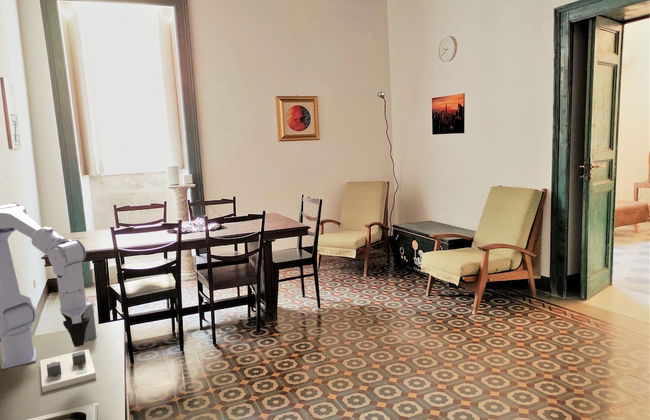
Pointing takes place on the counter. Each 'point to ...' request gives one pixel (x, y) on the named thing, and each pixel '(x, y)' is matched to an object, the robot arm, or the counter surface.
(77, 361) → the block
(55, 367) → the block
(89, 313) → the planter
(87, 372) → the panel
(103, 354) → the counter surface
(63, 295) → the robot arm
